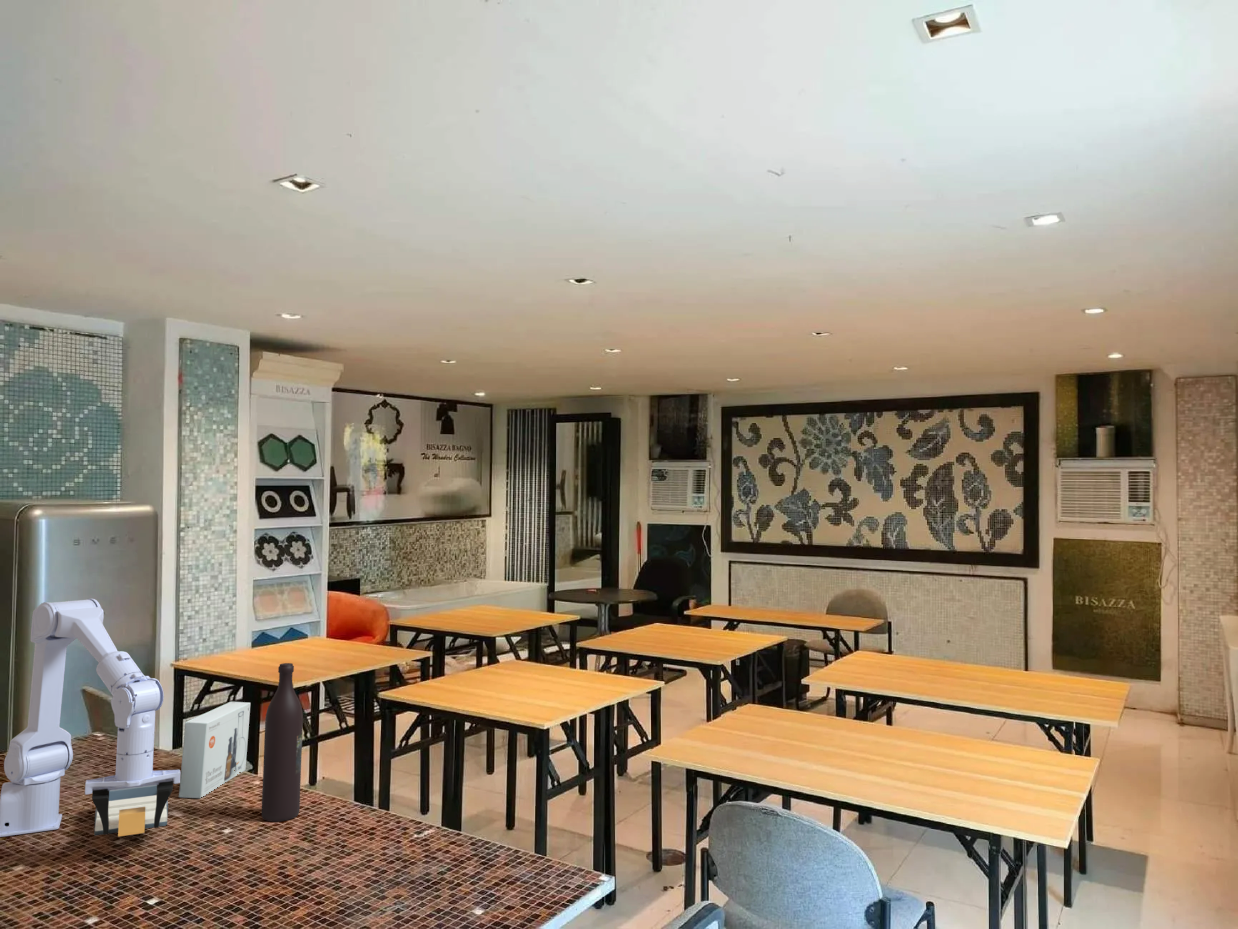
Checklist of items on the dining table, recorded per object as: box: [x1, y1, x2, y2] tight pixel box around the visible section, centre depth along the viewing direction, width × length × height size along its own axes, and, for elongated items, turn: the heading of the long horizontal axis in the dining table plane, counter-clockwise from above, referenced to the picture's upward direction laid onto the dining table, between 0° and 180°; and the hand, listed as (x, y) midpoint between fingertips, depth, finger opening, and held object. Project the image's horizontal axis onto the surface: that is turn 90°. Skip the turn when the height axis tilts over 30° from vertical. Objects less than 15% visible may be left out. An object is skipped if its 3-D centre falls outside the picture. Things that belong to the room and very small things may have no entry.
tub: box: [93, 785, 169, 837], centre depth 170 cm, size 12×14×4 cm
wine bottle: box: [261, 662, 304, 823], centre depth 173 cm, size 7×7×30 cm
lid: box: [94, 795, 168, 837], centre depth 158 cm, size 11×18×4 cm, turn 29°
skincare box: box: [178, 701, 251, 799], centre depth 192 cm, size 21×6×16 cm, turn 179°
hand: (131, 829), depth 151 cm, fingers open, 7 cm apart
